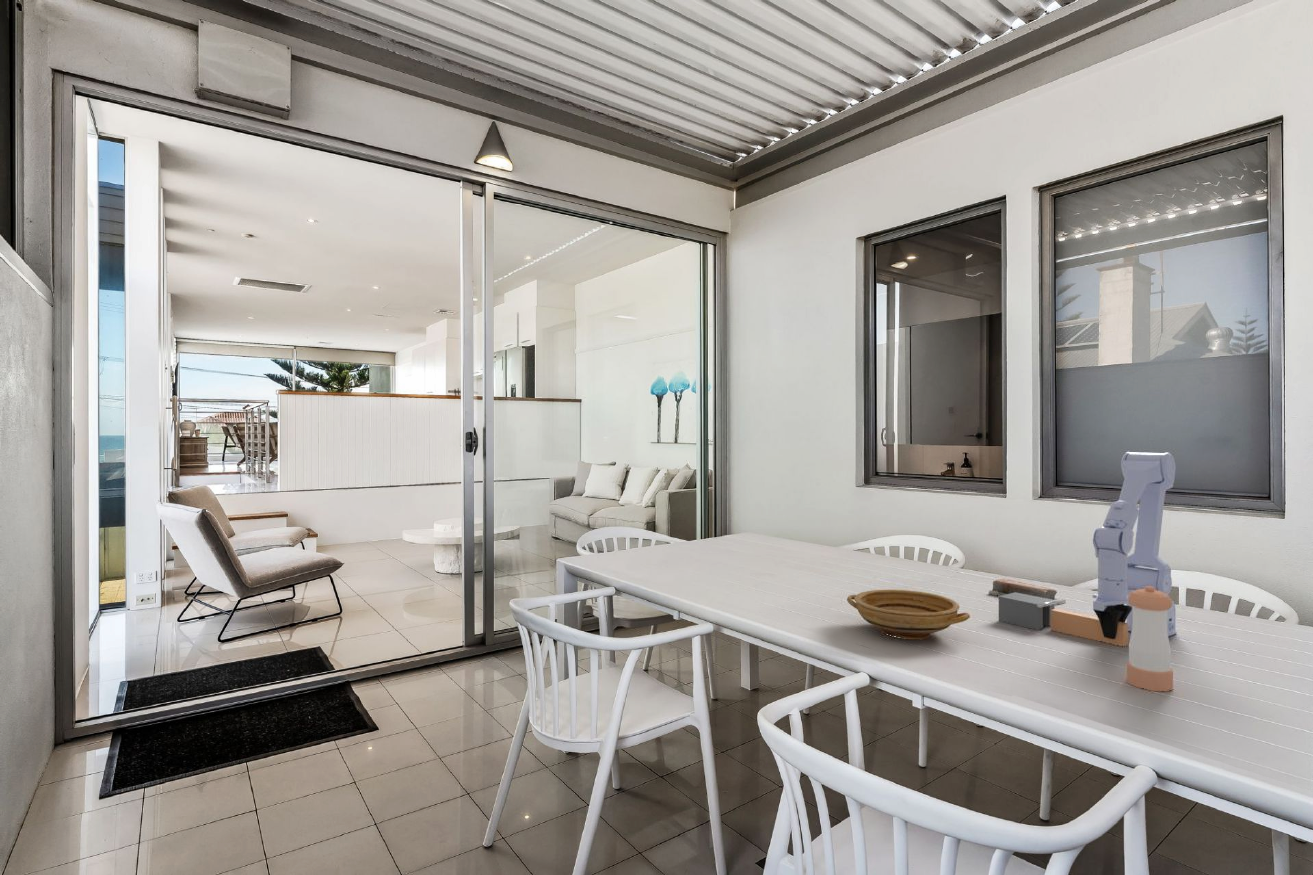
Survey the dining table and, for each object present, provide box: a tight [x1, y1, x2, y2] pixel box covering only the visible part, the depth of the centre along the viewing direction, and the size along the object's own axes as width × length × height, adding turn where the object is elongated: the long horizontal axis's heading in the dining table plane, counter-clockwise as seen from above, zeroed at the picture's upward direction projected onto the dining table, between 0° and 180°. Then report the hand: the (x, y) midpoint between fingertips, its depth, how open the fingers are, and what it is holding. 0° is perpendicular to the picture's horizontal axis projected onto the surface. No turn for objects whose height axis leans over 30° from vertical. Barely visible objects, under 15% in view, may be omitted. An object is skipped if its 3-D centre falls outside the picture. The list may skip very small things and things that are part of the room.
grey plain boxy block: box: [998, 592, 1058, 631], centre depth 174 cm, size 11×8×6 cm
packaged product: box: [988, 578, 1066, 606], centre depth 200 cm, size 18×5×10 cm
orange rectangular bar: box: [1050, 608, 1129, 648], centre depth 162 cm, size 16×2×5 cm, turn 34°
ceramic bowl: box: [846, 589, 971, 640], centre depth 167 cm, size 30×24×8 cm
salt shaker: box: [1126, 586, 1174, 692], centre depth 132 cm, size 7×7×19 cm
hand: (1112, 636), depth 158 cm, fingers closed on orange rectangular bar, 2 cm apart
